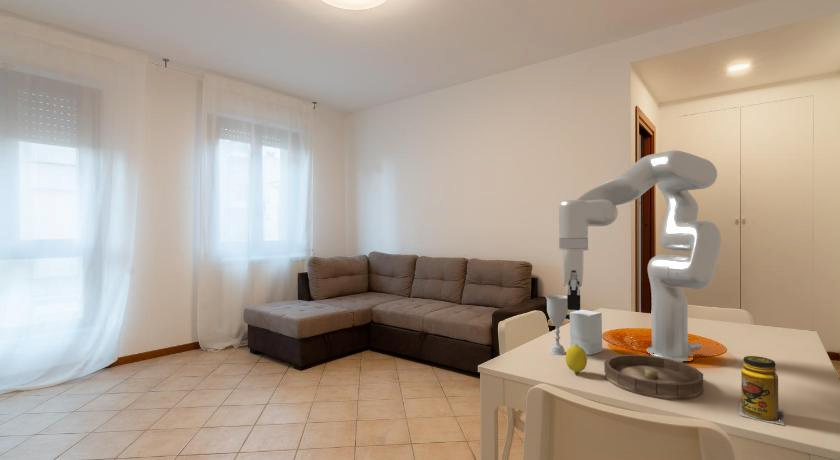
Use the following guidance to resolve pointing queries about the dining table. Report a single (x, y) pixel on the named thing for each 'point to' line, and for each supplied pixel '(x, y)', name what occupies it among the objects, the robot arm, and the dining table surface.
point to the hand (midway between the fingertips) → (573, 306)
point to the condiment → (760, 390)
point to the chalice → (557, 318)
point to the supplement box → (586, 330)
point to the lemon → (576, 358)
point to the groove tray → (661, 376)
